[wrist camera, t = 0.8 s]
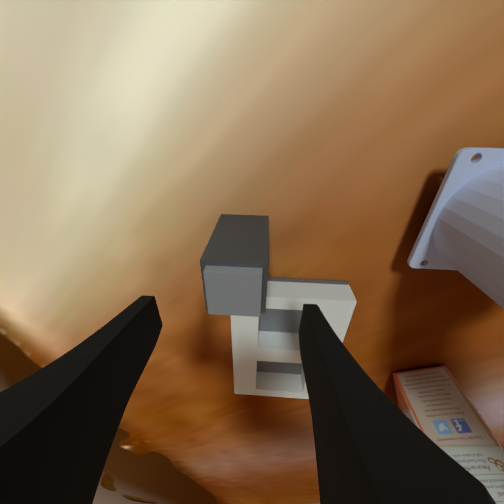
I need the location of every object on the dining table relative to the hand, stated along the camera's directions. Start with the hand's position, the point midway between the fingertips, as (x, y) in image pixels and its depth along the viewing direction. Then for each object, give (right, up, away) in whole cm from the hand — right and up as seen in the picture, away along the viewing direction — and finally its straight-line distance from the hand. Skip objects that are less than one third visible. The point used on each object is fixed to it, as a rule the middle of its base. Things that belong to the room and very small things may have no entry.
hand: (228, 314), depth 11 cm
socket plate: (+4, -6, +13) cm, 15 cm away
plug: (+1, +4, +7) cm, 8 cm away
